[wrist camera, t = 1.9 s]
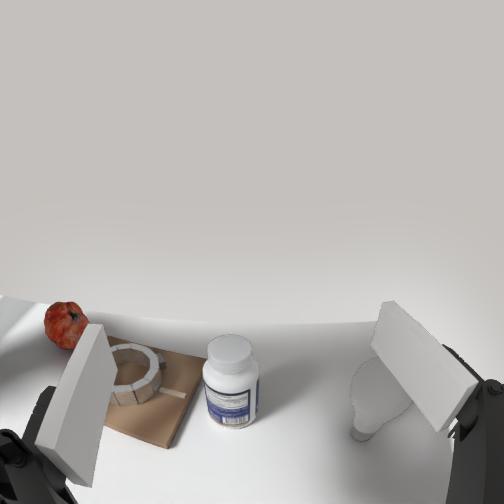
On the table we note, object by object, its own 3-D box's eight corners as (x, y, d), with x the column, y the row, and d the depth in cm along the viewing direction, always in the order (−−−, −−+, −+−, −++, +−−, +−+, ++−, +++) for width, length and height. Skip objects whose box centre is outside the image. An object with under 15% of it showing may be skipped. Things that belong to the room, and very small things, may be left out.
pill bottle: (228, 388, 31) (225, 323, 28) (266, 407, 28) (272, 342, 25) (198, 414, 27) (187, 350, 23) (238, 438, 24) (236, 376, 21)
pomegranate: (52, 362, 33) (66, 350, 29) (31, 321, 33) (42, 300, 29) (84, 344, 40) (106, 330, 35) (65, 306, 40) (83, 284, 35)
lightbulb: (333, 413, 27) (356, 339, 23) (383, 415, 25) (418, 342, 22) (330, 458, 21) (362, 388, 17) (387, 458, 20) (434, 388, 16)
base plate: (56, 400, 24) (52, 394, 24) (109, 340, 37) (107, 334, 37) (167, 449, 22) (165, 443, 21) (207, 364, 35) (207, 358, 34)
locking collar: (84, 391, 26) (77, 377, 25) (118, 352, 34) (113, 337, 33) (143, 415, 25) (137, 401, 24) (172, 367, 32) (169, 352, 32)
